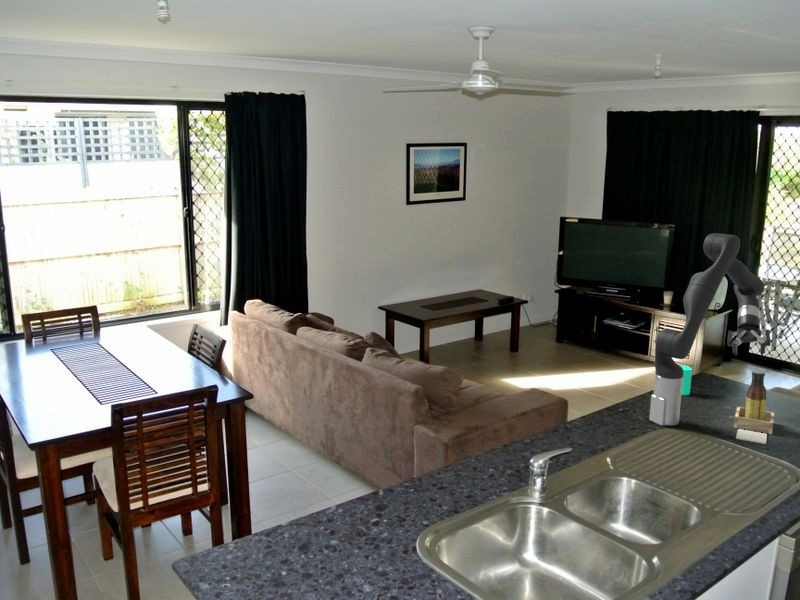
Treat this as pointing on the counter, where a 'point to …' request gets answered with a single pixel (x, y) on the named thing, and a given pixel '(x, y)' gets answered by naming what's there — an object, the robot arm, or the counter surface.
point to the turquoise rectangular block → (686, 380)
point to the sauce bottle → (756, 397)
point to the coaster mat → (751, 436)
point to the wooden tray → (753, 421)
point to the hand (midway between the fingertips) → (748, 353)
